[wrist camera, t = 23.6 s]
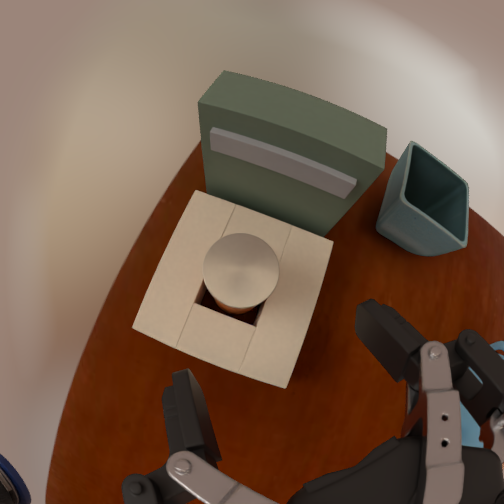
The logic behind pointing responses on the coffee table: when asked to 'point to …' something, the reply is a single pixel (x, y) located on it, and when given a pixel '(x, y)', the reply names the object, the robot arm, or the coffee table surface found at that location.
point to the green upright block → (286, 151)
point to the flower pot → (424, 205)
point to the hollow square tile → (224, 327)
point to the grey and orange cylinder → (240, 272)
